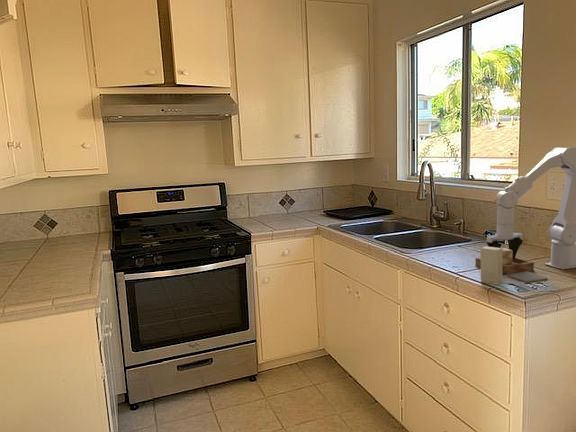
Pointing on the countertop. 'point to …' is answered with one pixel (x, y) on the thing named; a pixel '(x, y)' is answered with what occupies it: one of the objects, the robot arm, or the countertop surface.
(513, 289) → the countertop surface
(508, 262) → the maple block
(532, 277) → the mat
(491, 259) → the skincare box
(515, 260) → the slot box
